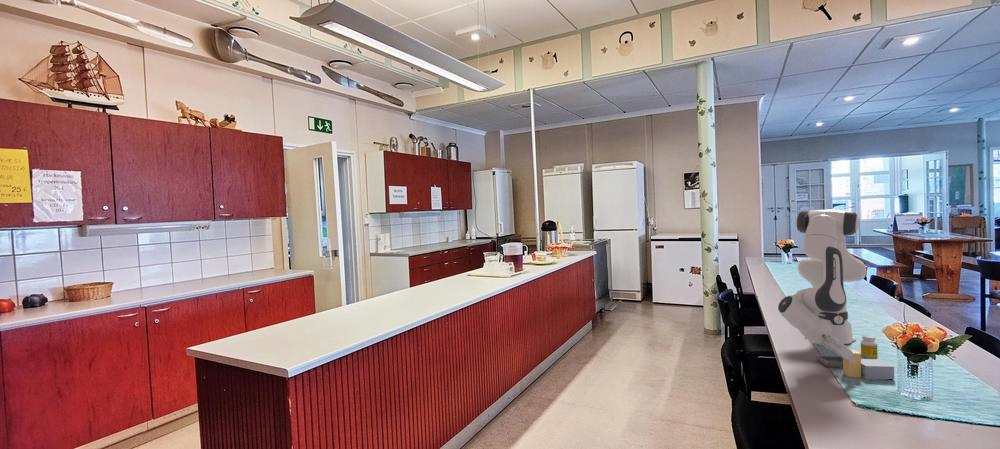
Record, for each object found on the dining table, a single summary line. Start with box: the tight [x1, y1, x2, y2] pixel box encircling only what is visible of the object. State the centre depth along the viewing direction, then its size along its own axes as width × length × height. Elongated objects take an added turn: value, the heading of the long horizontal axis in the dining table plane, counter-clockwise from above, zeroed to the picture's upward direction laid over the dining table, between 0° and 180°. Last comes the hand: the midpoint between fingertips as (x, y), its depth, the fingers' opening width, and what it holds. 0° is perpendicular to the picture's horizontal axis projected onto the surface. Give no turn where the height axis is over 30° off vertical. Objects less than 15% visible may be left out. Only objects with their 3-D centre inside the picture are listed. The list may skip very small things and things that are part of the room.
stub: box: [842, 349, 862, 378], centre depth 170 cm, size 4×4×9 cm
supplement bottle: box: [860, 334, 879, 359], centre depth 185 cm, size 5×5×10 cm
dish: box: [816, 355, 843, 369], centre depth 182 cm, size 9×9×2 cm
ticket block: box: [860, 358, 895, 381], centre depth 168 cm, size 8×9×5 cm
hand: (846, 357), depth 170 cm, fingers open, 8 cm apart
